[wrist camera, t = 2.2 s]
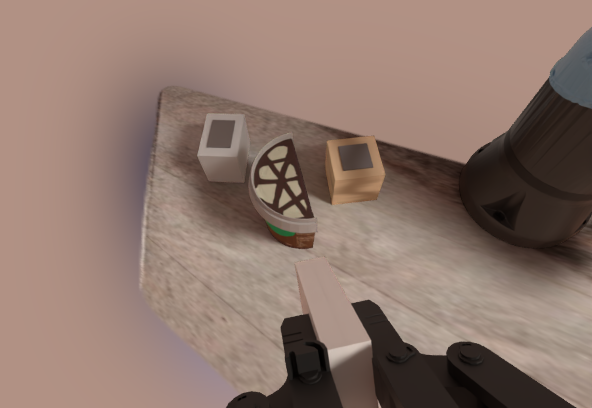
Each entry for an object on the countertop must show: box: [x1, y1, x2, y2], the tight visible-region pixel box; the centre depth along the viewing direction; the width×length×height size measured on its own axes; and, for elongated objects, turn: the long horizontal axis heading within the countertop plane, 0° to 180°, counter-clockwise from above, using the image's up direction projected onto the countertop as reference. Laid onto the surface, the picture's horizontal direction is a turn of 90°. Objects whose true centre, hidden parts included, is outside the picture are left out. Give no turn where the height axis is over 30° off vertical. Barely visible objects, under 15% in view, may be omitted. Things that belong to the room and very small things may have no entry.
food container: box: [248, 132, 317, 249], centre depth 41 cm, size 12×6×10 cm, turn 13°
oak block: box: [325, 136, 385, 205], centre depth 46 cm, size 6×6×6 cm
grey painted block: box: [197, 113, 250, 183], centre depth 48 cm, size 5×7×6 cm
